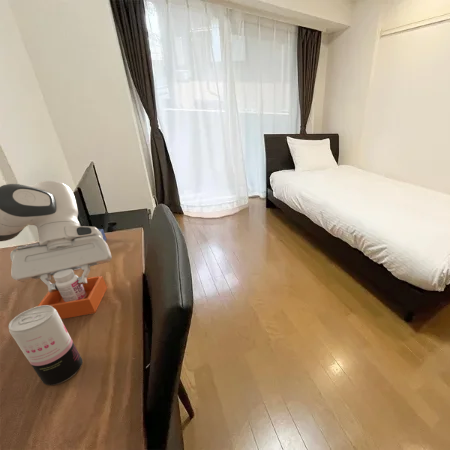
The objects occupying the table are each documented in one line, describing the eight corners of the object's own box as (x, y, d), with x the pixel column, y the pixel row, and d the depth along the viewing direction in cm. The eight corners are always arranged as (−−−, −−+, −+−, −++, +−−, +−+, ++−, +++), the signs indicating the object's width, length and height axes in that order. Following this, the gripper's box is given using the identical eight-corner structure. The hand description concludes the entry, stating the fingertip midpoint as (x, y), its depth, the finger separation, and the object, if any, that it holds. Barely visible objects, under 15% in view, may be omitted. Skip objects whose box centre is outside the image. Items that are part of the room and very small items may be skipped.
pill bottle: (84, 301, 72) (70, 276, 68) (62, 306, 70) (47, 281, 66) (89, 290, 76) (76, 265, 72) (68, 295, 74) (55, 270, 70)
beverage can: (49, 363, 57) (17, 310, 51) (86, 353, 60) (60, 300, 53) (37, 391, 52) (-1, 336, 45) (78, 379, 54) (47, 324, 48)
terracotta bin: (43, 322, 67) (35, 308, 65) (61, 296, 76) (55, 282, 74) (95, 312, 70) (89, 299, 68) (107, 288, 79) (102, 275, 77)
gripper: (2, 244, 66) (7, 299, 63) (102, 226, 75) (111, 273, 72) (16, 251, 71) (22, 302, 68) (108, 233, 80) (117, 278, 77)
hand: (68, 287), depth 70 cm, fingers closed on pill bottle, 5 cm apart
